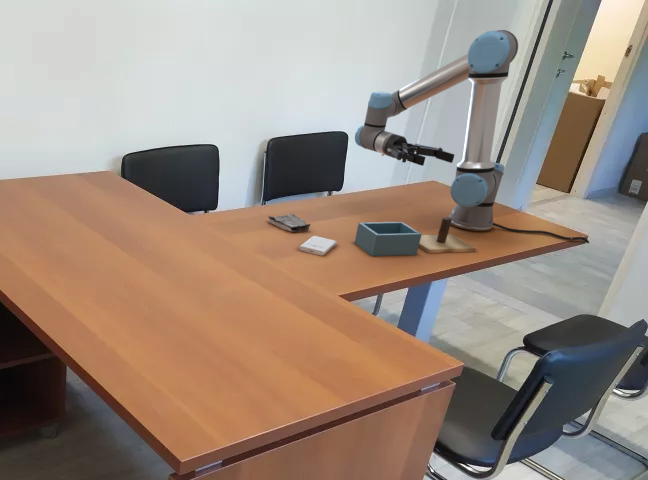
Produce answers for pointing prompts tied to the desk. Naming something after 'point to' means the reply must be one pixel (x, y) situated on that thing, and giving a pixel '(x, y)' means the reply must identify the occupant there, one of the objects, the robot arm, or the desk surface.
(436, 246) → the tan piece
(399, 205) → the desk surface
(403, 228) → the toy box
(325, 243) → the hard drive
